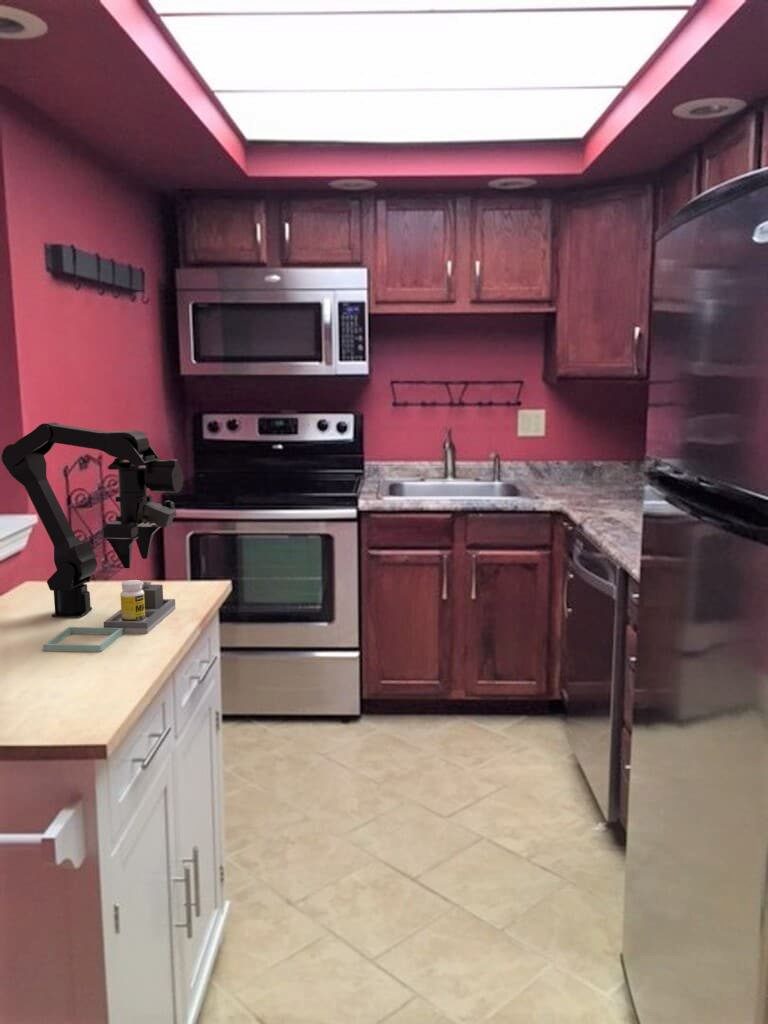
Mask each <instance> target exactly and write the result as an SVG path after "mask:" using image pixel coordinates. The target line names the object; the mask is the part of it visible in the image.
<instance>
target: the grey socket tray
mask: <svg viewBox="0 0 768 1024" xmlns="http://www.w3.org/2000/svg"><path fill="white" fill-rule="evenodd" d="M163 604H164V605H163V606H162V607H161V608H159V609H145V621H122V616H121V609H119V610H118V611H117V612H116V613H114V614H112V616H109V618H107V619H106V620H104V621H103V628H123V634H149V633H150V632H151V631H152V630H153V629H155V627H156V625H159V624H160V623H161V622H162V621H163V620H165V619H166V618H167V617H169V615H170V614H171V613H173V610H174V611H175V610H176V609H177V608H176V599H175V598H163ZM166 616H167V617H166ZM165 617H166V618H165ZM150 630H151V631H150ZM149 631H150V632H149ZM148 632H149V633H148Z"/></svg>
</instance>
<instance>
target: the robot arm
mask: <svg viewBox="0 0 768 1024" xmlns="http://www.w3.org/2000/svg"><path fill="white" fill-rule="evenodd" d="M55 444H60V445H67V446H73V447H79V448H86V449H92V450H97V451H100V452H102V453H105V454H107V455H108V456H111V457H114V460H113V461H112V462H111V463H110V464H109V465H108V466H107V469H108V470H110V471H111V470H115V471H117V480H118V482H117V483H118V495H117V496H115V502H116V503H119V515H116V517H115V518H116V520H112V521H110V522H108V523H107V522H106V523H105V524H104V525H103V526H102V528H101V533H102V535H101V537H102V538H104V539H105V540H106V542H108V543H109V544H110V546H111V547H112V549H113V551H114V553H115V554H116V556H117V558H118V560H119V561H120V563H121V565H122V567H123V568H124V569H131V562H132V553H133V544H134V543H135V542H136V545H137V548H138V551H139V554H140V557H141V558H142V559H144V560H147V559H148V558H149V554H150V549H151V545H152V543H153V542H152V541H153V538H154V534H155V533H156V532H157V531H158V530H159V529H160V528H167V527H168V526H171V525H172V523H173V520H174V518H175V517H176V516H177V509H176V508H175V502H173V501H171V500H170V499H169V500H165V501H164V502H163V503H162V504H161V502H159V503H157V502H154V501H153V496H152V495H151V494H148V489H149V491H151V492H155V493H156V492H157V493H159V492H160V493H179V492H181V490H182V489H183V486H184V481H185V480H184V478H185V477H184V474H183V471H182V467H181V466H180V465H179V459H177V458H175V459H168V460H167V459H160V456H159V455H158V454H157V452H156V451H155V450H154V449H153V447H152V446H151V445H150V442H149V438H148V436H147V435H146V433H144V432H143V431H141V430H117V431H114V430H113V431H104V430H97V429H92V428H85V427H79V426H72V425H66V424H59V423H57V422H46V423H41V424H39V425H38V426H37V427H35V428H34V429H33V430H32V431H31V432H29V433H28V434H26V435H24V436H23V437H22V438H20V439H18V440H17V441H15V443H11V444H8V445H6V446H5V447H4V449H3V450H2V453H1V455H0V458H1V463H2V464H3V466H4V467H5V469H6V470H7V472H8V473H9V475H10V476H11V477H12V478H13V479H15V480H16V481H17V482H18V483H19V484H20V485H22V486H23V487H24V489H25V491H26V493H27V496H28V497H29V499H30V501H31V503H32V506H33V507H34V509H35V511H36V513H37V515H38V517H39V519H40V521H41V524H42V525H43V527H44V529H45V531H46V533H47V536H48V537H49V540H50V541H51V543H52V545H53V562H54V566H55V568H56V571H55V572H54V573H53V574H52V575H51V576H50V577H49V578H48V579H47V581H46V584H47V585H48V586H47V587H48V588H49V591H52V592H53V600H54V612H53V613H52V614H51V617H52V618H82V617H83V616H84V615H85V614H87V613H89V612H91V610H93V608H92V606H91V605H92V604H91V592H90V591H88V584H87V583H90V582H91V578H92V575H94V573H95V572H96V569H97V567H98V561H97V558H98V555H97V554H96V552H94V550H93V549H94V548H93V547H92V543H91V542H90V540H85V541H81V540H80V539H79V538H78V537H77V536H76V535H75V533H74V530H73V529H72V526H71V525H70V522H69V521H68V519H67V516H66V514H65V513H64V511H63V509H62V507H61V505H60V502H59V500H58V498H57V497H56V494H55V492H54V490H53V488H52V485H51V484H50V483H49V480H48V478H47V477H48V476H47V462H46V458H45V456H46V455H47V454H49V452H50V451H51V450H52V449H53V447H54V446H55Z"/></svg>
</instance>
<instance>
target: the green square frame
mask: <svg viewBox="0 0 768 1024" xmlns="http://www.w3.org/2000/svg"><path fill="white" fill-rule="evenodd" d="M71 634H73V635H74V634H75V635H108V637H107V638H105V639H104V640H102V641H101V642H100V643H99V644H95V643H94V644H91V643H89V644H88V643H87V644H86V643H85V644H84V643H83V644H82V643H81V644H80V643H78V644H77V643H60V642H61V641H62V640H64V639H66V637H69V636H70V635H71ZM123 634H124V633H123V628H104V627H99V626H98V627H97V626H95V627H90V626H89V627H88V626H68V627H67V628H65V629H64V630H63V631H61V632H60V633H58V634H56V635H55V636H54V637H52V638H51V639H49V640H48V641H47V642H45V643H43V645H42V647H43V651H44V652H46V651H47V652H48V651H49V652H51V651H52V652H91V653H92V652H94V653H95V652H96V653H97V652H98V653H99V652H100V653H101V652H102V651H104V650H105V649H106V648H107V647H109V646H110V645H112V644H113V642H115V641H116V640H117V639H118V638H119V637H121V636H122V635H123Z"/></svg>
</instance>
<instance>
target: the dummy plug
mask: <svg viewBox="0 0 768 1024" xmlns="http://www.w3.org/2000/svg"><path fill="white" fill-rule="evenodd" d="M163 586H164V585H163V584H152V581H151V580H145V581H142V589H141V590H143V591H144V599H145V609H159V608H161V607H162V606H163V605H164V604H163V599H164V590H163V589H164V587H163Z"/></svg>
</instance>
